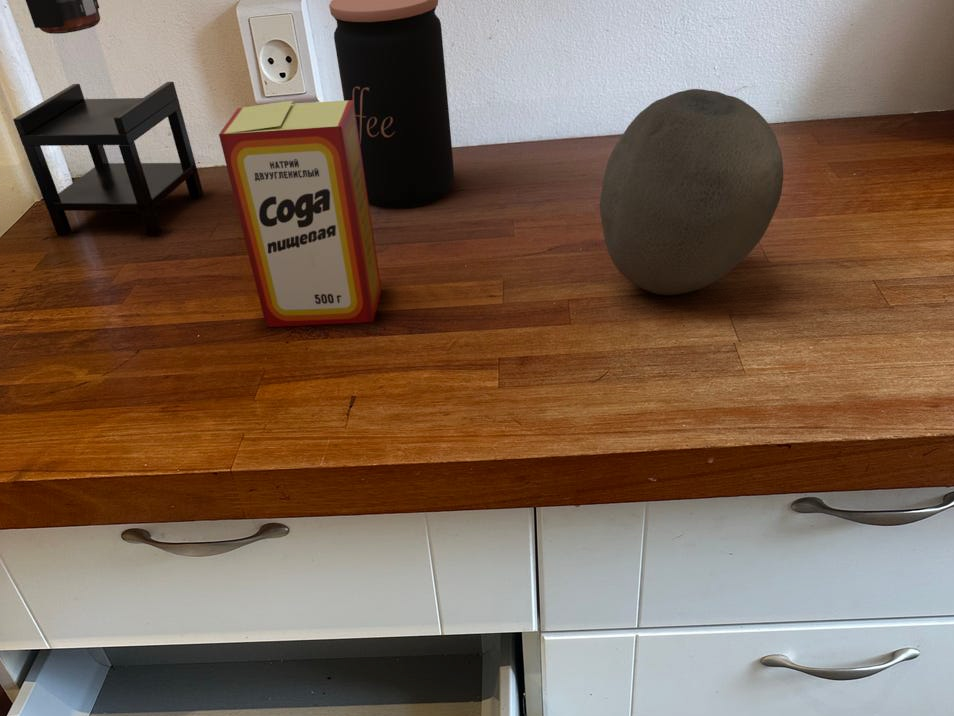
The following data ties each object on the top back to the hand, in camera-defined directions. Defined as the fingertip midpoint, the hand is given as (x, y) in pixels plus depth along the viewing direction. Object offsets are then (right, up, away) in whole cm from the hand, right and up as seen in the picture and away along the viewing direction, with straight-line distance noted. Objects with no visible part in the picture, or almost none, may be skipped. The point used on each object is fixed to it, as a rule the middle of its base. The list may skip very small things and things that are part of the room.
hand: (67, 17), depth 91 cm
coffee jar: (+32, -11, +13) cm, 36 cm away
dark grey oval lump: (+57, -29, -8) cm, 65 cm away
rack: (+1, -13, +14) cm, 19 cm away
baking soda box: (+26, -30, -6) cm, 41 cm away
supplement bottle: (0, -1, +1) cm, 1 cm away
